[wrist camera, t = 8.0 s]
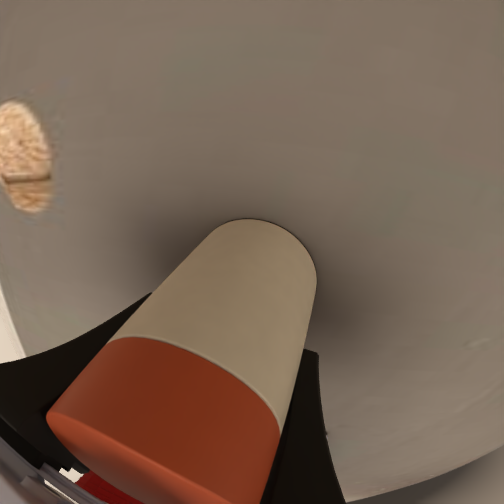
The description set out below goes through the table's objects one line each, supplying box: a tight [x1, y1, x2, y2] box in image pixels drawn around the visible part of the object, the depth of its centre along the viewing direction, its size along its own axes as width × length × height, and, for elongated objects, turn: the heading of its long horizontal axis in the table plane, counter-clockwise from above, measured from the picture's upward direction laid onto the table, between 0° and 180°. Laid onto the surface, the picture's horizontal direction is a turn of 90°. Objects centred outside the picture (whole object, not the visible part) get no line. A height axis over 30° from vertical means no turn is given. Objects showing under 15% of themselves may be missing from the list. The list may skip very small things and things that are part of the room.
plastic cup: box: [75, 470, 145, 504], centre depth 30 cm, size 11×11×12 cm
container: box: [46, 219, 317, 504], centre depth 9 cm, size 5×5×10 cm
